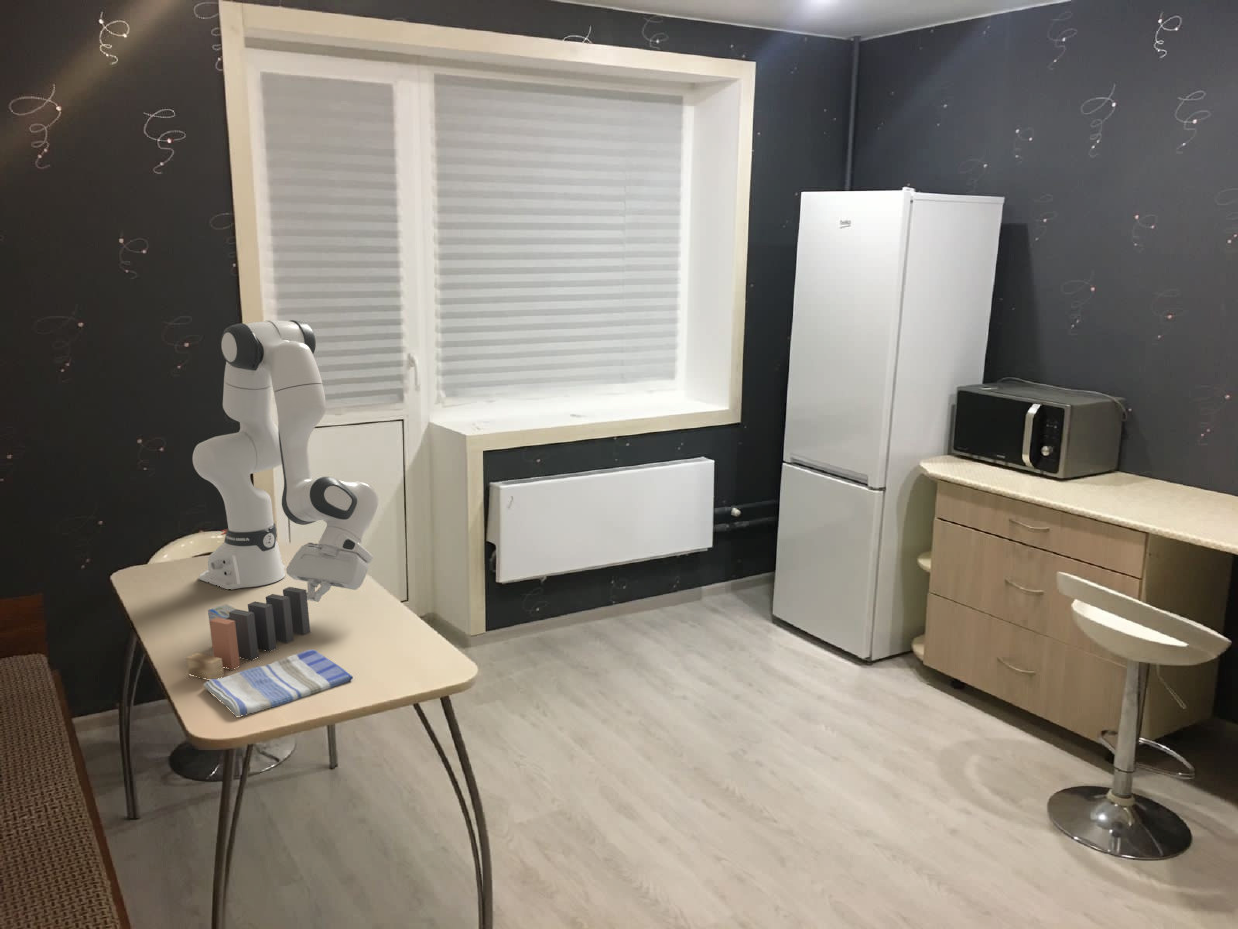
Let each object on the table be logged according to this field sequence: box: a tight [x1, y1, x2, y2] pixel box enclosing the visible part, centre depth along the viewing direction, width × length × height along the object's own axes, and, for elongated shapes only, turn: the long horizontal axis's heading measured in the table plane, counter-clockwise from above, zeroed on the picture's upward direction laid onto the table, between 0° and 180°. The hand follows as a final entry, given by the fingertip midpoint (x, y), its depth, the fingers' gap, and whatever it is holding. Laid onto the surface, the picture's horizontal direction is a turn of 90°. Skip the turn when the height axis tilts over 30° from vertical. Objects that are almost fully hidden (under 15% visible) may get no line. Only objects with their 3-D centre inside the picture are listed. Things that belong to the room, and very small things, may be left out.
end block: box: [186, 652, 225, 679], centre depth 193 cm, size 7×2×4 cm, turn 64°
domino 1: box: [209, 617, 241, 670], centre depth 197 cm, size 5×2×10 cm, turn 64°
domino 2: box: [229, 608, 260, 662], centre depth 202 cm, size 5×2×10 cm, turn 64°
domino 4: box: [265, 593, 295, 644], centre depth 210 cm, size 5×2×10 cm, turn 64°
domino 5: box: [282, 586, 311, 636], centre depth 215 cm, size 5×2×10 cm, turn 64°
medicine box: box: [207, 604, 237, 640], centre depth 207 cm, size 8×4×9 cm, turn 47°
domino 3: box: [247, 601, 277, 653], centre depth 206 cm, size 5×2×10 cm, turn 64°
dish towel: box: [202, 649, 353, 717], centre depth 189 cm, size 17×24×3 cm
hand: (311, 600), depth 219 cm, fingers closed
